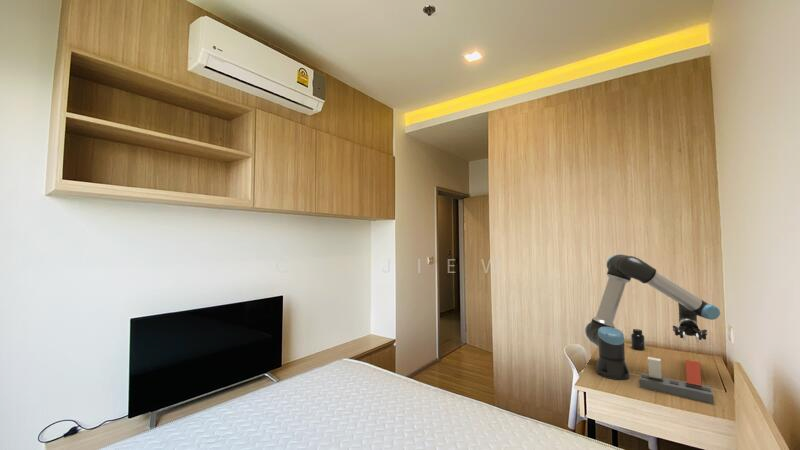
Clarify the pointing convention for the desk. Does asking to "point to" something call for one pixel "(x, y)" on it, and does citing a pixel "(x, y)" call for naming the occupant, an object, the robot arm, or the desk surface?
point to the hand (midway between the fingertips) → (691, 338)
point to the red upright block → (693, 373)
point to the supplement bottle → (637, 340)
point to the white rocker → (654, 367)
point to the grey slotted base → (677, 388)
